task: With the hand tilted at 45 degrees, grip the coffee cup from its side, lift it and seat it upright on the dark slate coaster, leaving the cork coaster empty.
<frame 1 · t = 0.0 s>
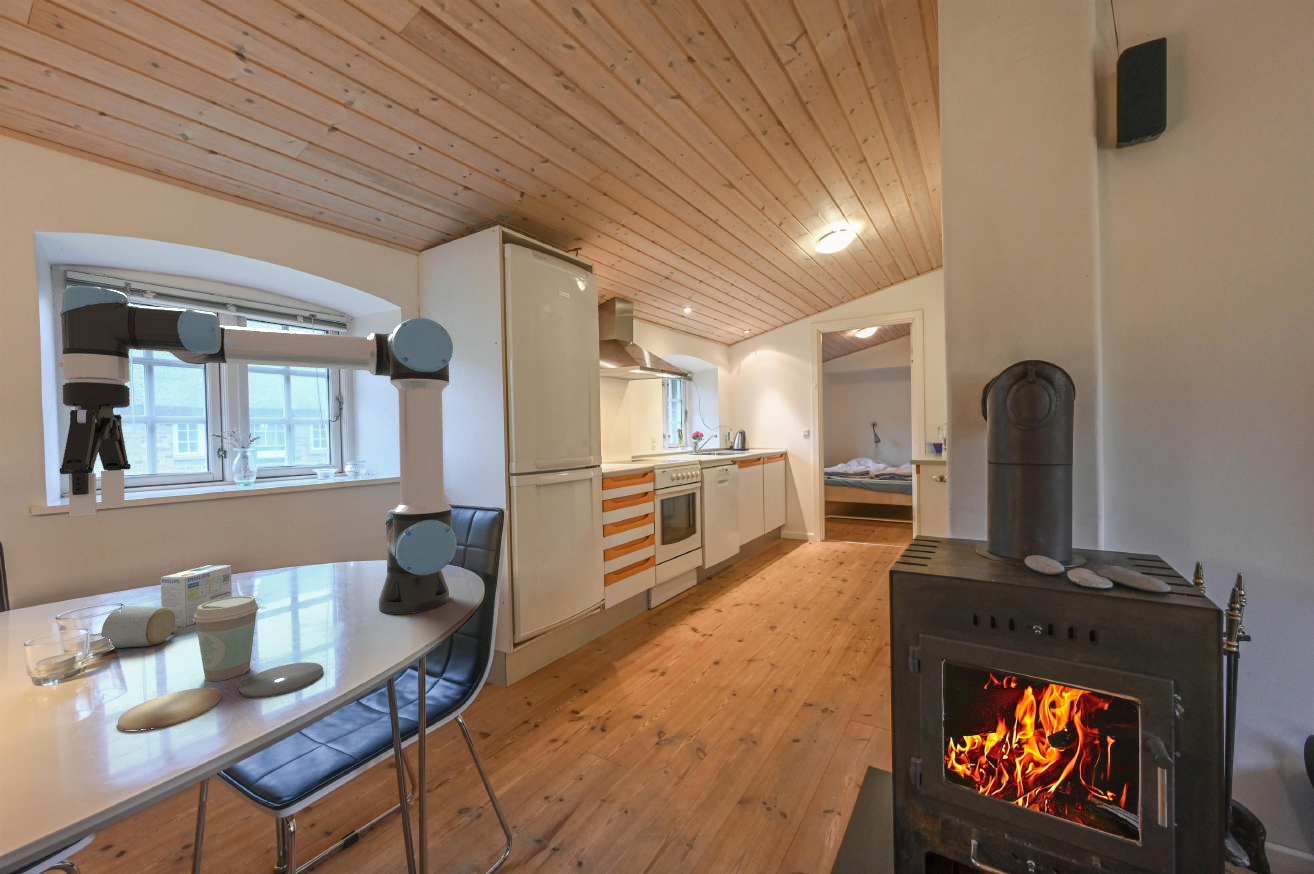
hand: (99, 511, 85), 28 cm above the table, tool pointing down, fingers open, 13 cm apart
coffee cup: (227, 674, 87), on the table
cork coaster: (172, 709, 75), on the table
slate coaster: (282, 680, 84), on the table
ceramic mug: (145, 643, 102), on the table
light bulb box: (198, 619, 116), on the table
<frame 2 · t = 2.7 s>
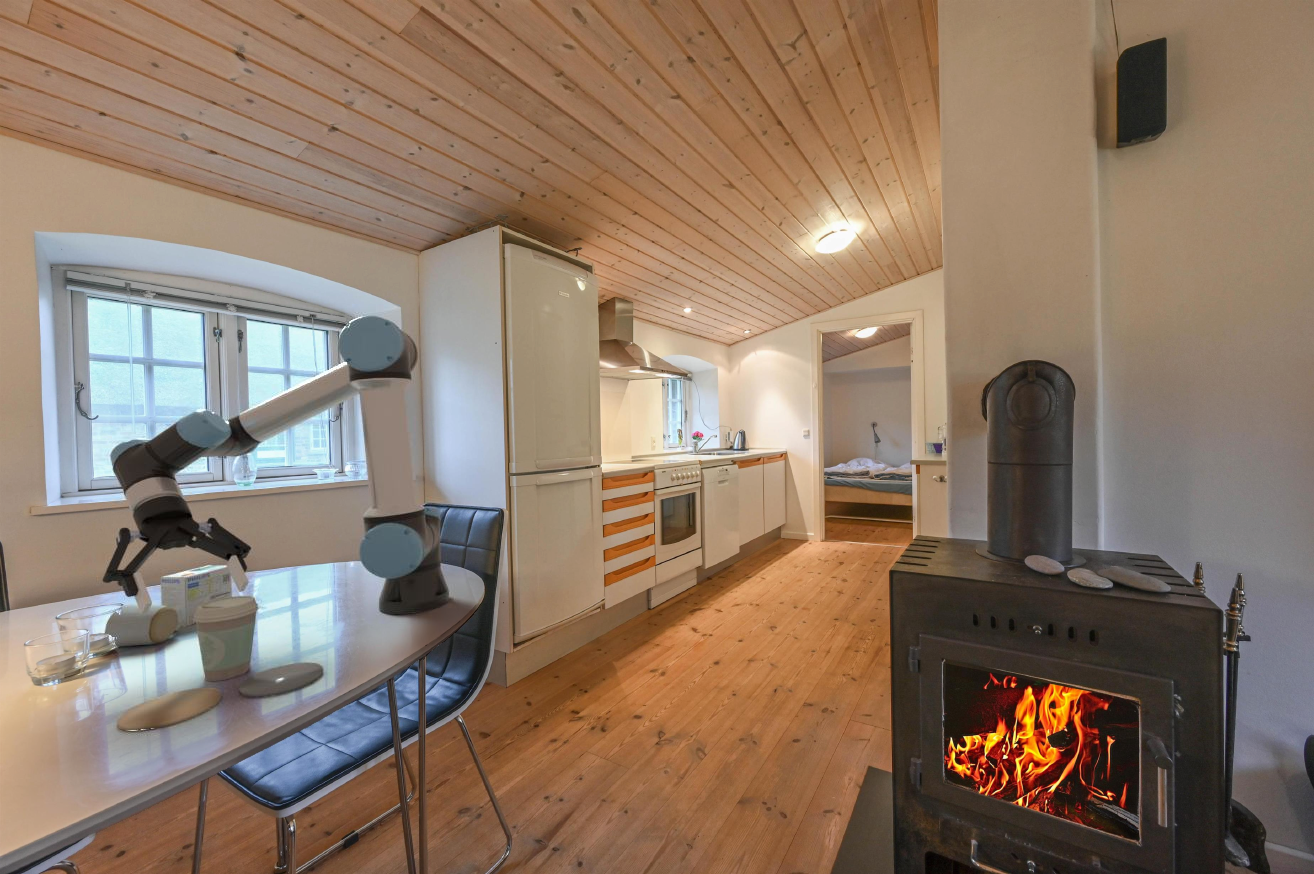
hand: (198, 597, 91), 12 cm above the table, tool tilted 45°, fingers open, 13 cm apart
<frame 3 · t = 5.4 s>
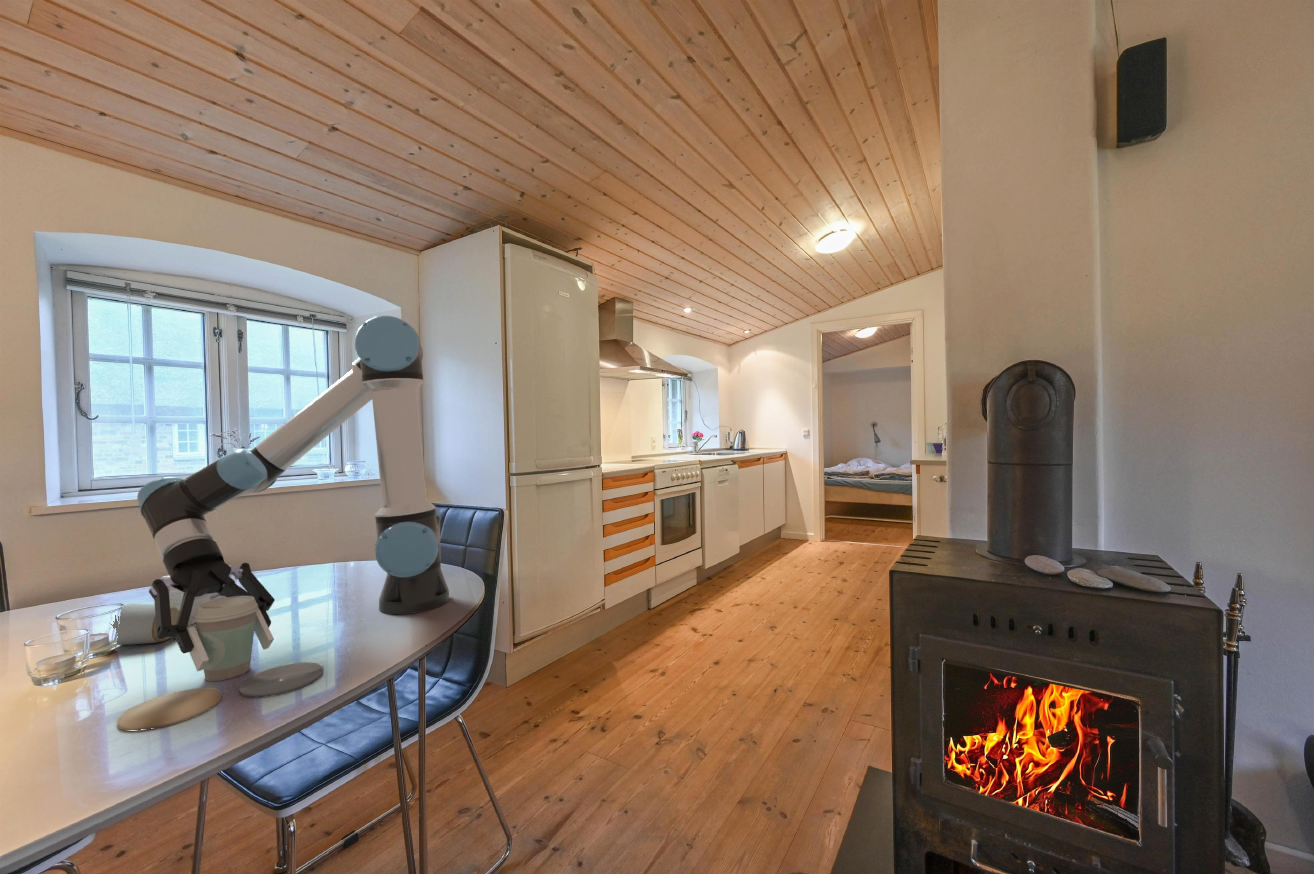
hand: (237, 654, 86), 4 cm above the table, tool tilted 45°, fingers closed on coffee cup, 8 cm apart
coffee cup: (227, 674, 87), on the table, touching gripper
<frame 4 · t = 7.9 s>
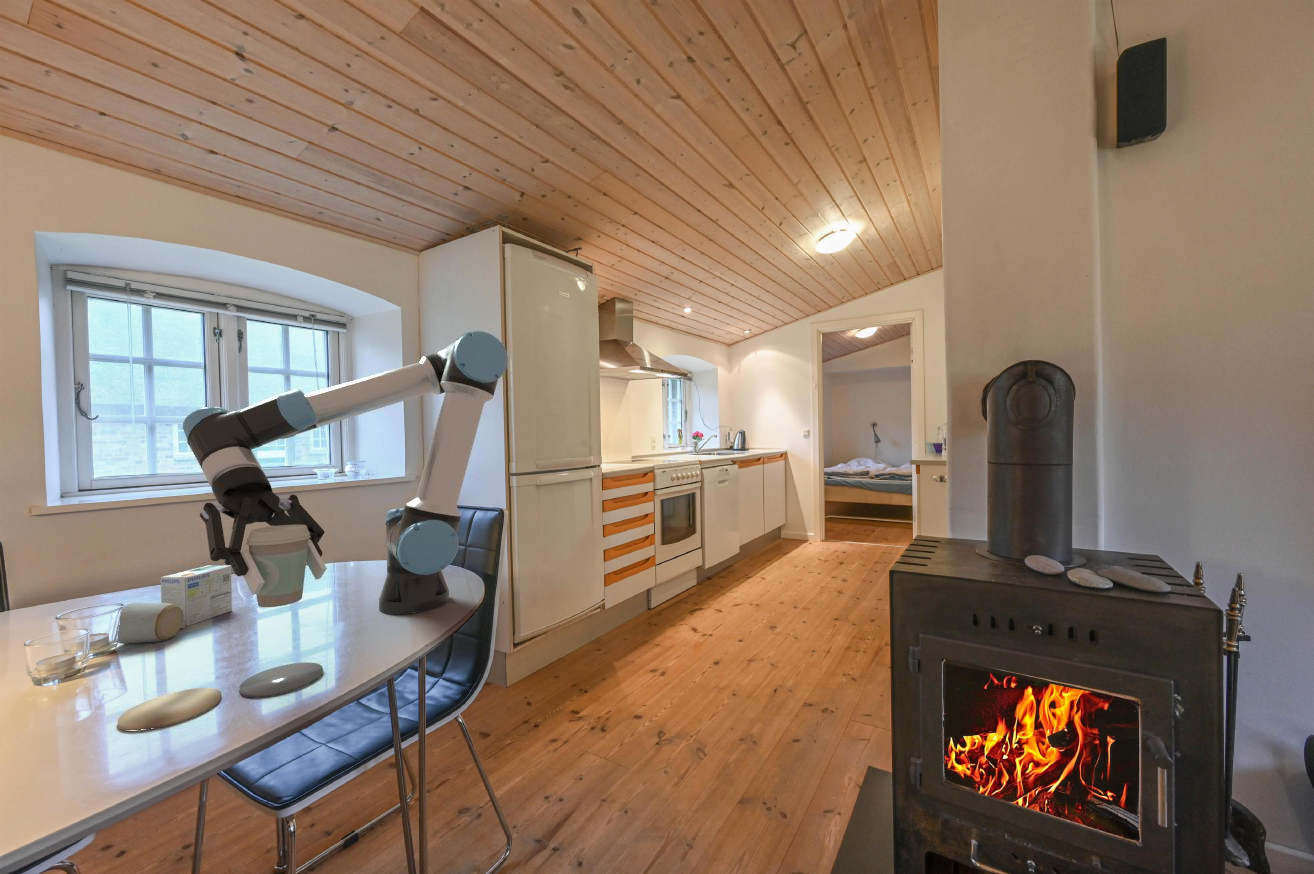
hand: (291, 580, 83), 17 cm above the table, tool tilted 45°, fingers closed on coffee cup, 8 cm apart
coffee cup: (280, 602, 84), point 13 cm above the table, touching gripper
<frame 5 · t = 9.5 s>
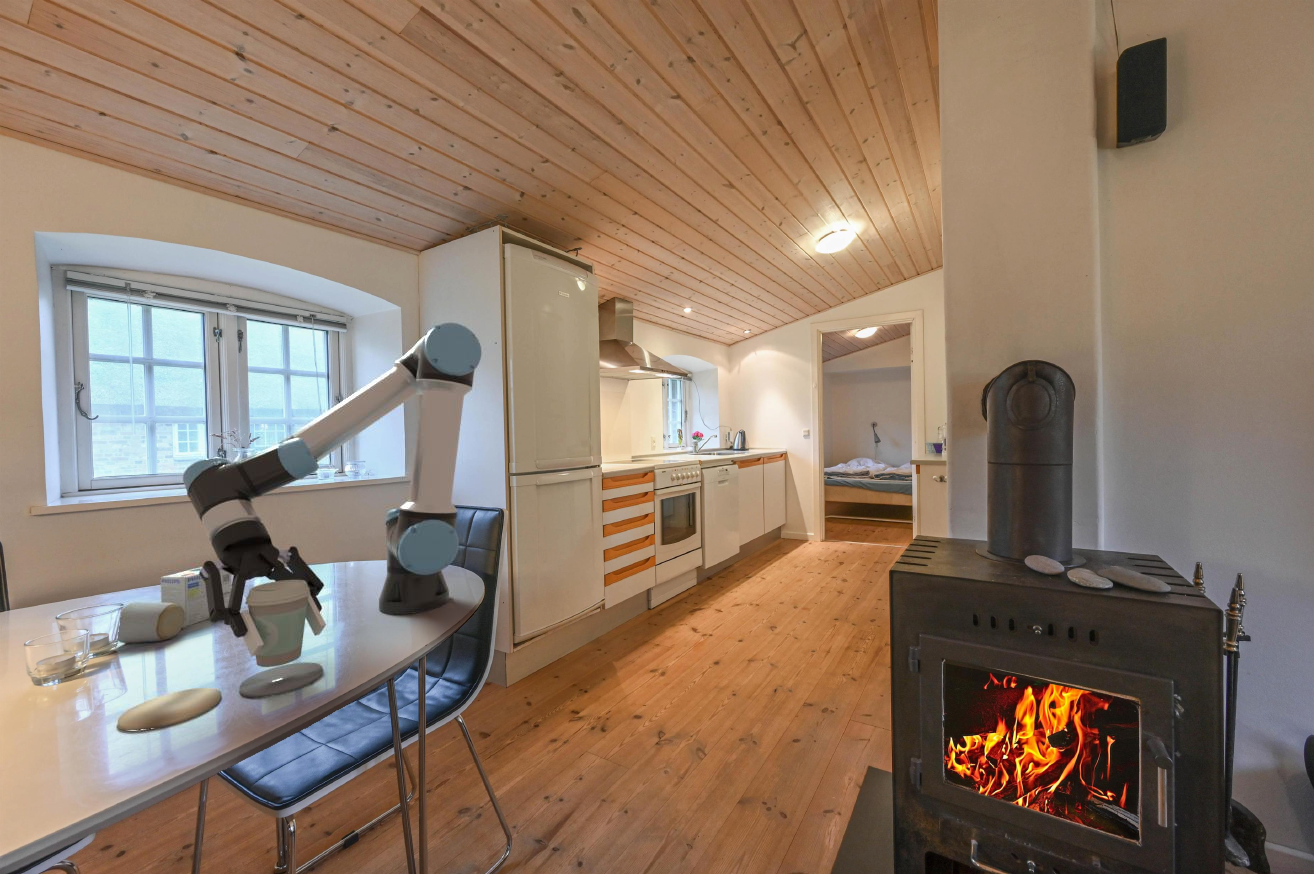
hand: (290, 639, 83), 7 cm above the table, tool tilted 45°, fingers closed on coffee cup, 8 cm apart
coffee cup: (279, 660, 84), point 3 cm above the table, touching gripper
when the fingers open (6 cm above the table, at t = 10.4 s): coffee cup drops 1 cm, resting on slate coaster.
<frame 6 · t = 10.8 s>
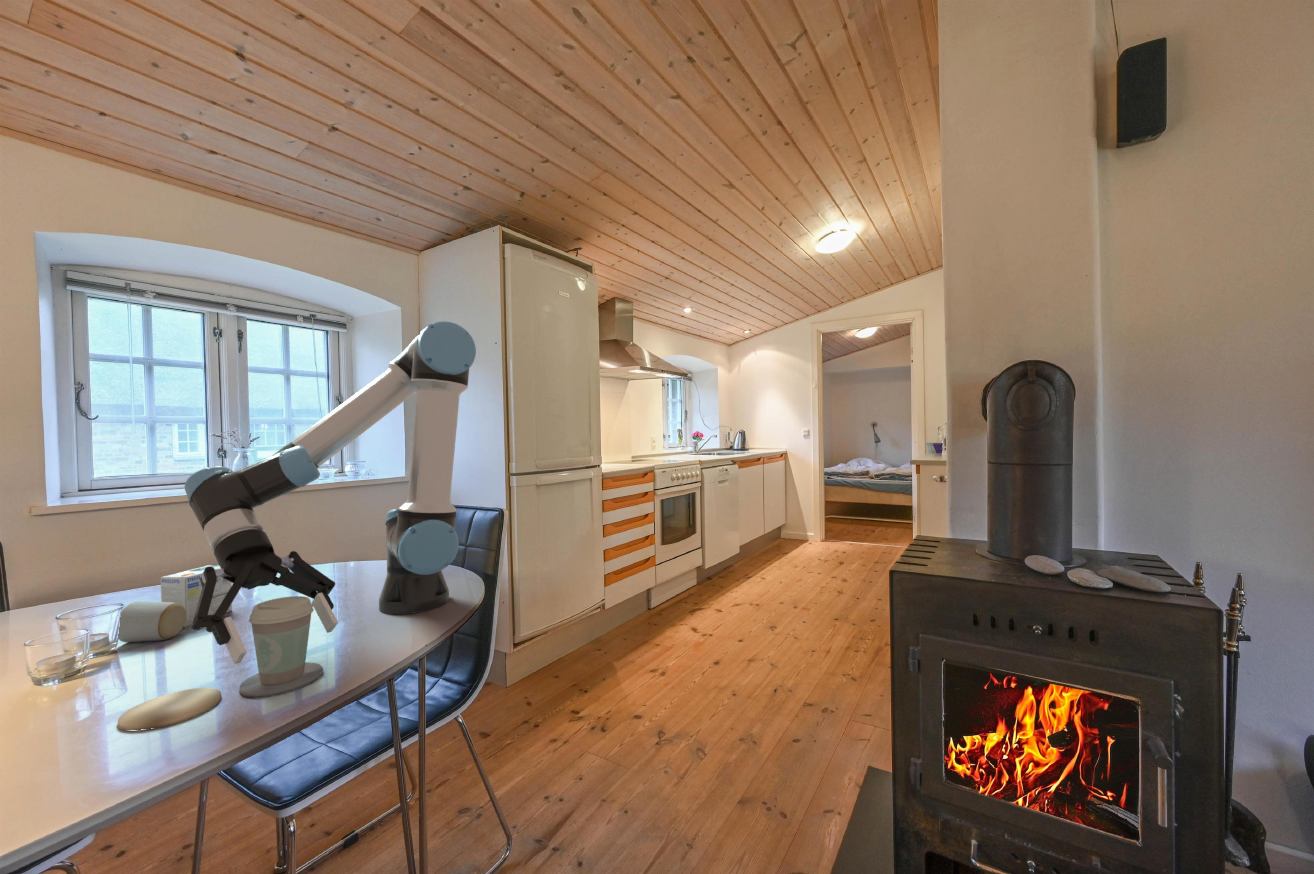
hand: (290, 641, 83), 7 cm above the table, tool tilted 45°, fingers open, 13 cm apart
coffee cup: (282, 677, 84), resting on slate coaster
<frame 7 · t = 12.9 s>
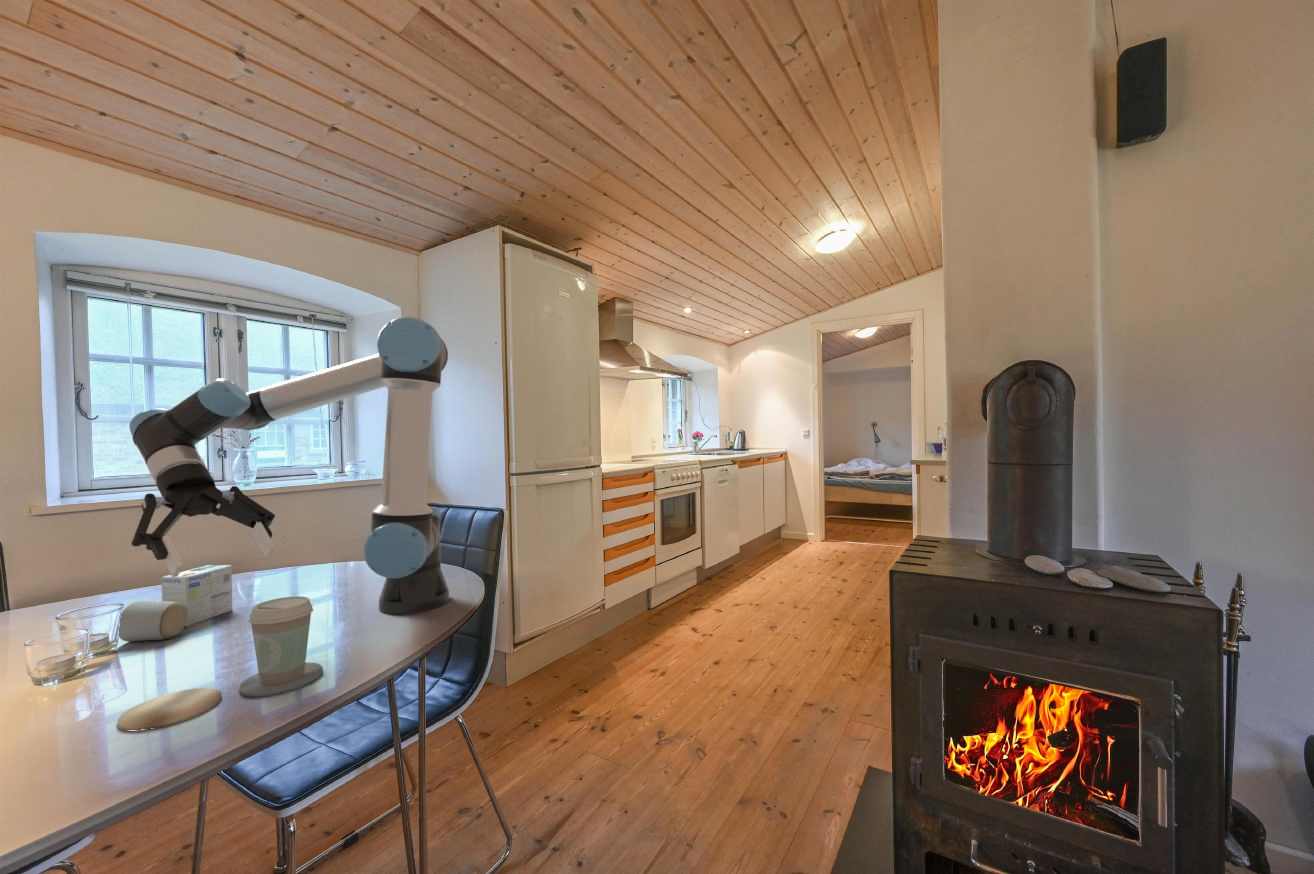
hand: (227, 561, 90), 18 cm above the table, tool tilted 45°, fingers open, 13 cm apart
ceramic mug: (158, 637, 105), on the table, touching light bulb box
light bulb box: (198, 618, 116), on the table, touching ceramic mug
everything else where it was.
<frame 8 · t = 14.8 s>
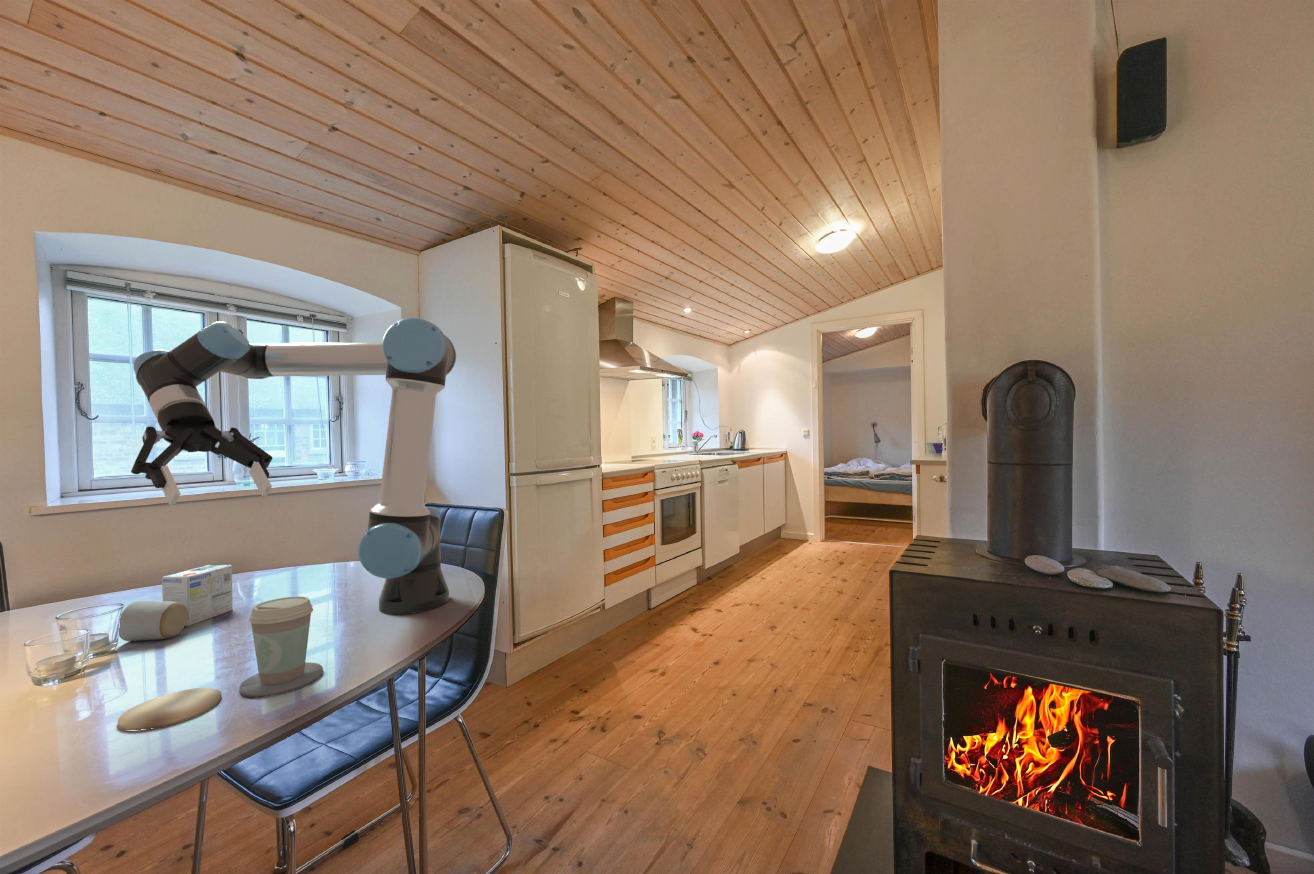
hand: (224, 495, 92), 30 cm above the table, tool tilted 45°, fingers open, 13 cm apart
ceramic mug: (159, 637, 106), on the table
light bulb box: (199, 618, 117), on the table
everything else where it was.
at the end: coffee cup inside the target area on the slate coaster (0.0 cm from its centre), point 0.4 cm above the slate coaster's base; coffee cup tilted 0°; the gripper is holding nothing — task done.
